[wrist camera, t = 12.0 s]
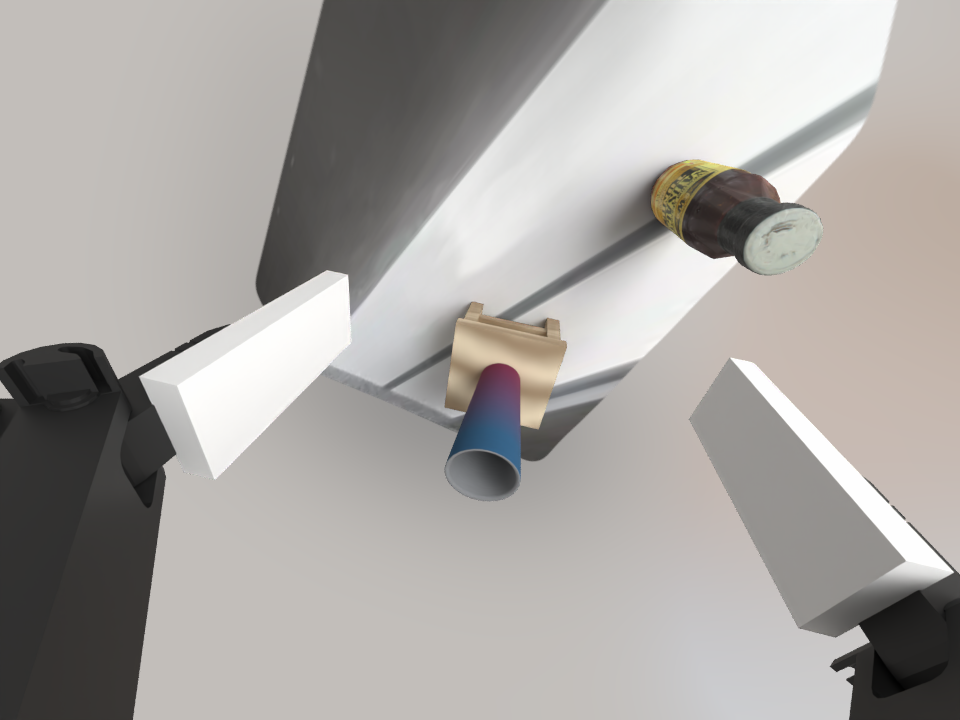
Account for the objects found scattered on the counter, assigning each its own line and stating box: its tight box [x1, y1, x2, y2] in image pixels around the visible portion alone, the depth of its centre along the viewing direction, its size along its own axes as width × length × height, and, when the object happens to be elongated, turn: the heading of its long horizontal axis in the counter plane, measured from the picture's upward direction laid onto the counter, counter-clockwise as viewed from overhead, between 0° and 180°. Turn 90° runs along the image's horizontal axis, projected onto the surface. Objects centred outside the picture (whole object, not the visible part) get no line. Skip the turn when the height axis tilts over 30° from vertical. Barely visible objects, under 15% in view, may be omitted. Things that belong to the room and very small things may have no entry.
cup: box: [445, 363, 521, 501], centre depth 37 cm, size 7×7×15 cm
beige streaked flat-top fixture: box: [445, 302, 567, 429], centre depth 47 cm, size 13×13×8 cm
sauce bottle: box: [651, 160, 823, 275], centre depth 28 cm, size 6×6×20 cm
